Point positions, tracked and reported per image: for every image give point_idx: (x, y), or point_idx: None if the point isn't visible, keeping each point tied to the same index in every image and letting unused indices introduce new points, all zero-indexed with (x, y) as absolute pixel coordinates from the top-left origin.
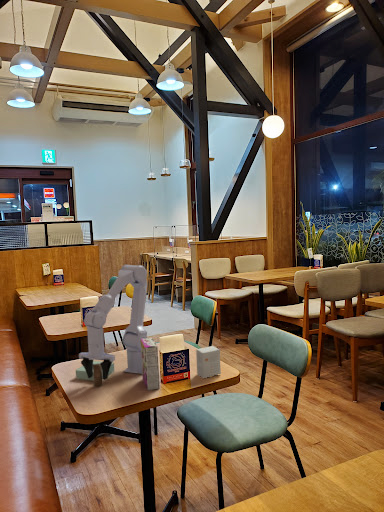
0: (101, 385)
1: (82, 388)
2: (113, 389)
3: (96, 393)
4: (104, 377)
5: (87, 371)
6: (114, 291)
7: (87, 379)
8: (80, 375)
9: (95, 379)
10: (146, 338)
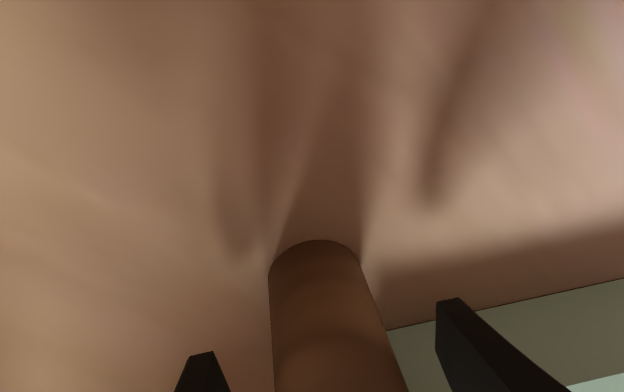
0: (268, 287)
1: (444, 153)
2: (72, 288)
3: (161, 124)
4: (176, 389)
5: (519, 384)
6: None
7: (505, 309)
8: (607, 317)
9: (327, 312)
10: None
